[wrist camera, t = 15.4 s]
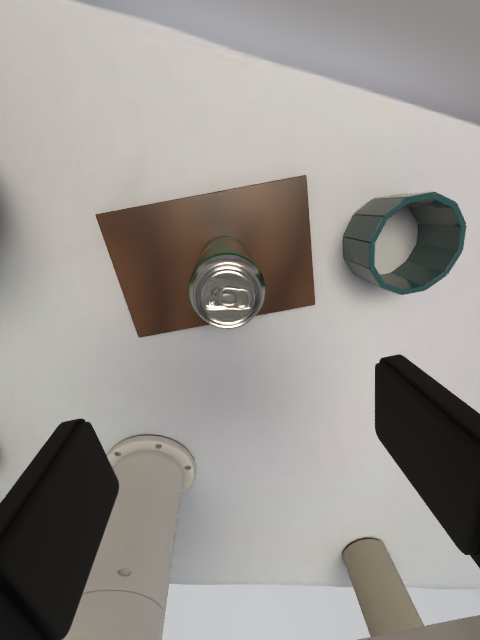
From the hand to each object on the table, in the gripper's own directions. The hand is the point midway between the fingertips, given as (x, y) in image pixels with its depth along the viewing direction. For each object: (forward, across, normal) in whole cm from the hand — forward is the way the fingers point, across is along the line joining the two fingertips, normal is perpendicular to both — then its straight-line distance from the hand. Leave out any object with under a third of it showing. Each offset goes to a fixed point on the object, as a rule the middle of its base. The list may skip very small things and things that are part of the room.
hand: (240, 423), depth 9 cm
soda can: (+21, 0, -2) cm, 21 cm away
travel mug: (+23, -15, +55) cm, 62 cm away
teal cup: (+22, -17, -1) cm, 28 cm away
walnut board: (+22, 0, -2) cm, 22 cm away
